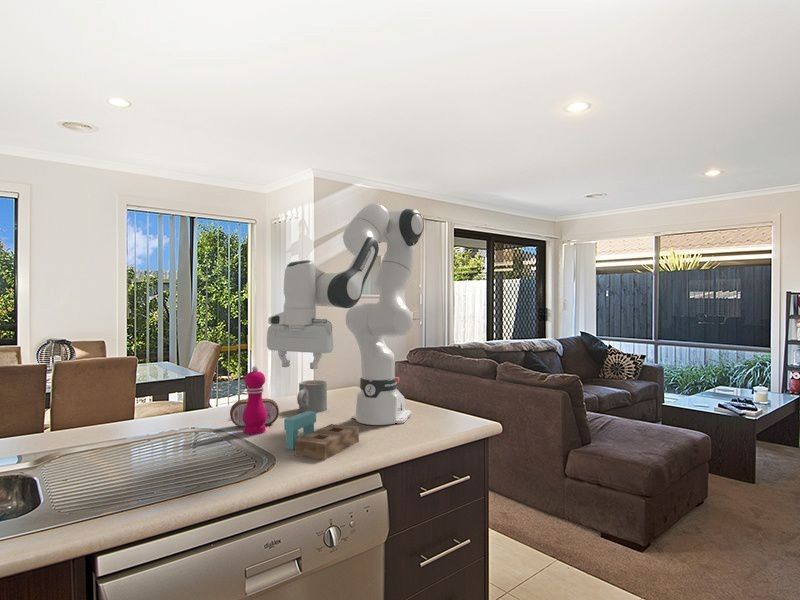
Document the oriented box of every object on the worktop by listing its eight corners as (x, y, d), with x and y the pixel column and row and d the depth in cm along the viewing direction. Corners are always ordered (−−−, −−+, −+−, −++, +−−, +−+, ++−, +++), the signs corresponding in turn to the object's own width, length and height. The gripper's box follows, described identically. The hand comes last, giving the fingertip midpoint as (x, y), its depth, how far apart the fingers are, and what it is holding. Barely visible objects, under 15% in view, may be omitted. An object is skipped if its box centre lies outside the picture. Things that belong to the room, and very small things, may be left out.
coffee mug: (313, 405, 190) (313, 379, 189) (332, 409, 184) (332, 382, 184) (285, 412, 179) (285, 384, 179) (304, 416, 173) (305, 387, 173)
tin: (278, 422, 164) (278, 397, 164) (279, 425, 161) (279, 398, 161) (229, 426, 159) (229, 399, 159) (229, 428, 156) (229, 401, 156)
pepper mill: (260, 435, 148) (260, 368, 148) (237, 434, 150) (238, 367, 149) (271, 429, 155) (271, 365, 155) (249, 428, 157) (250, 364, 156)
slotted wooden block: (331, 437, 146) (331, 423, 146) (358, 441, 143) (358, 427, 143) (295, 455, 130) (295, 439, 130) (324, 459, 126) (324, 444, 126)
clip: (307, 438, 145) (307, 410, 145) (316, 439, 144) (316, 411, 144) (284, 448, 135) (284, 419, 135) (293, 450, 134) (293, 420, 134)
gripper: (337, 318, 138) (337, 368, 138) (277, 317, 146) (277, 364, 147) (325, 319, 132) (325, 371, 133) (263, 318, 141) (263, 367, 141)
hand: (299, 367), depth 140 cm, fingers open, 8 cm apart
